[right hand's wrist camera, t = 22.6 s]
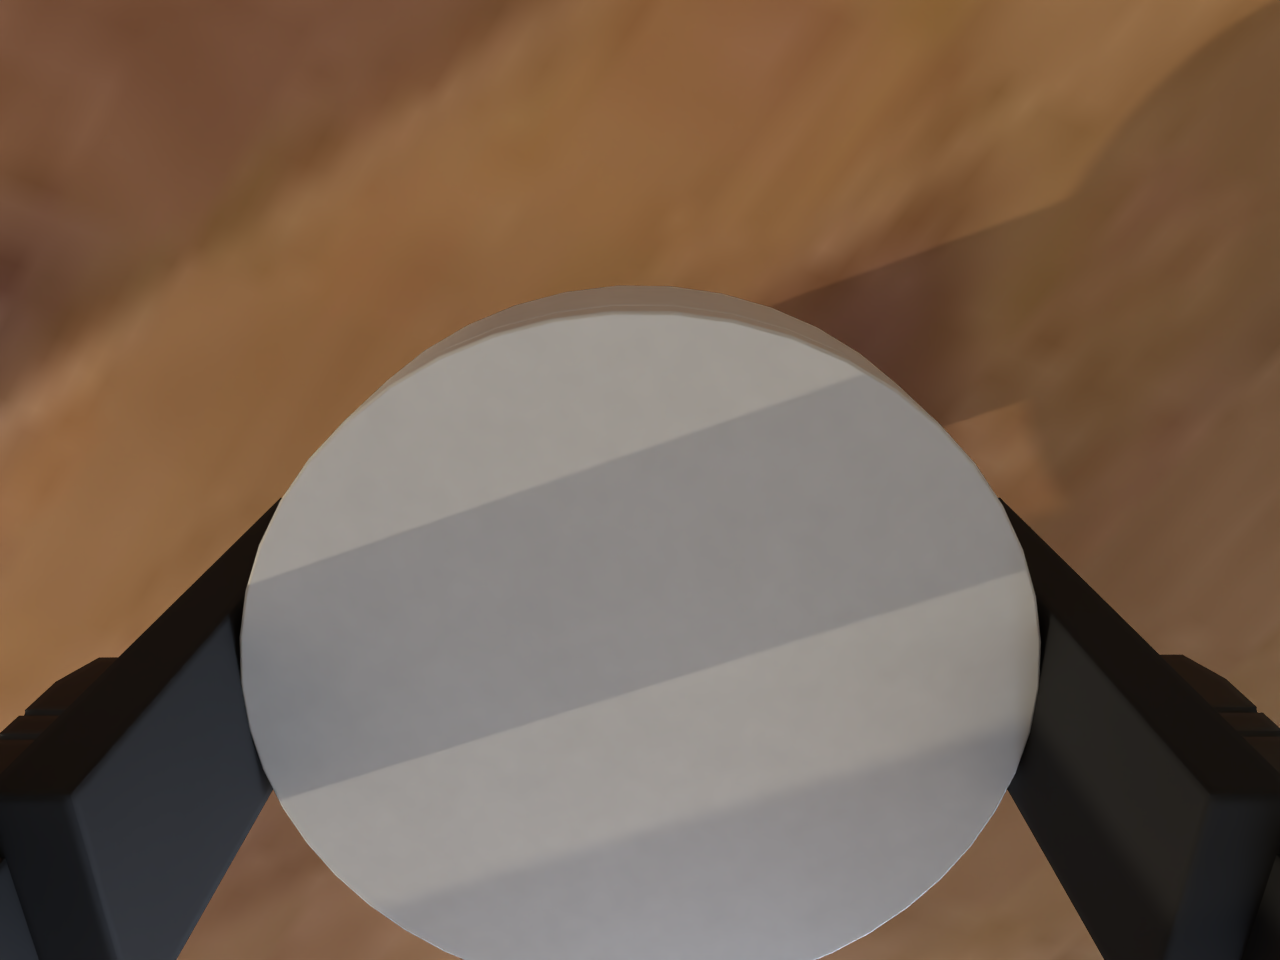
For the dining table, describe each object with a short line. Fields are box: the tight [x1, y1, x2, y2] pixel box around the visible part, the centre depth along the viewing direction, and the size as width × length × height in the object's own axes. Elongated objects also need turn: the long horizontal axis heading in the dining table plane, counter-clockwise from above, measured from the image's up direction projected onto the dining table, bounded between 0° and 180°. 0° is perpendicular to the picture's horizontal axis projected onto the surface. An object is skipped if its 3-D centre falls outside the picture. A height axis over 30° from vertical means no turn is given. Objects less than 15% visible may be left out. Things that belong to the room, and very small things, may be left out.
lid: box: [240, 286, 1041, 960], centre depth 11 cm, size 10×9×2 cm
